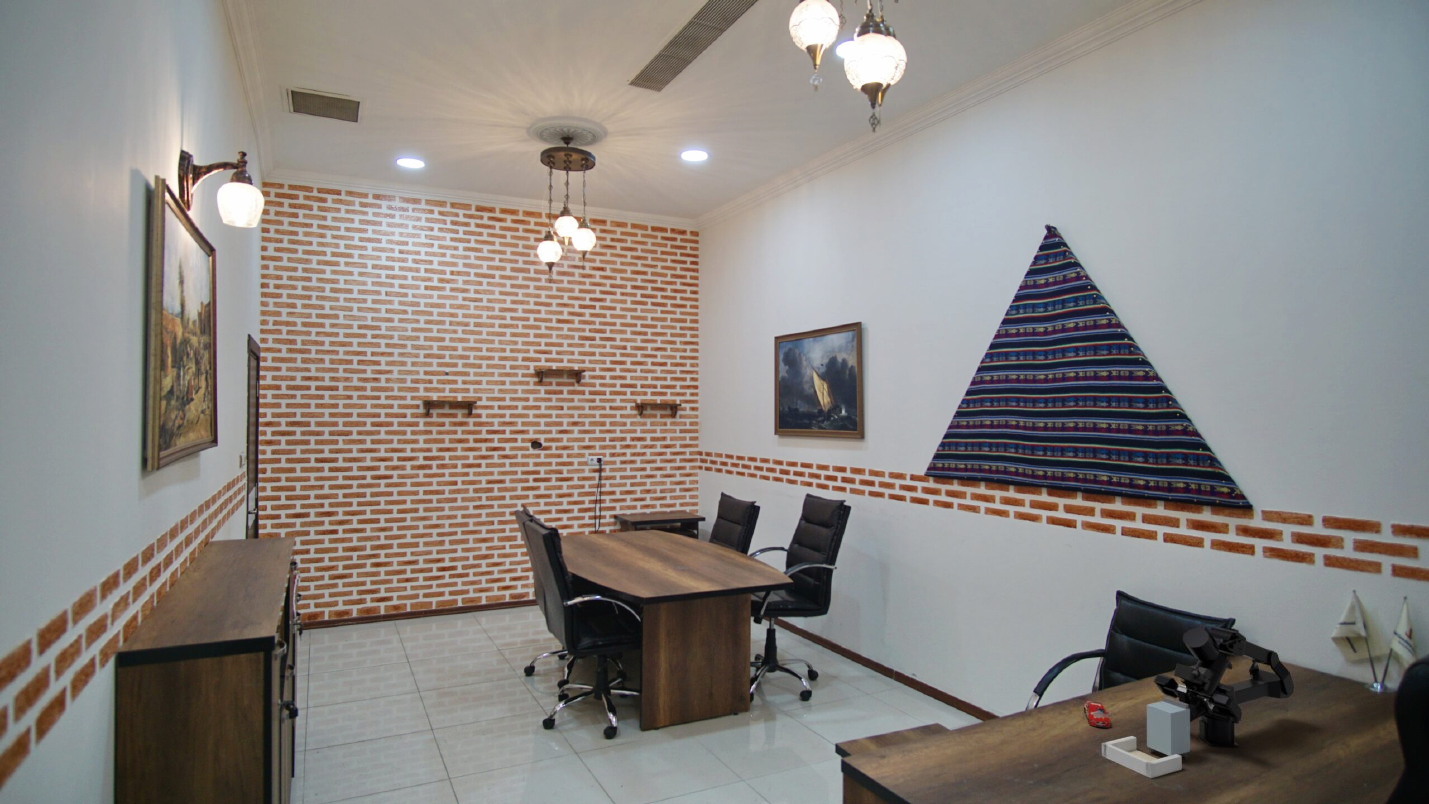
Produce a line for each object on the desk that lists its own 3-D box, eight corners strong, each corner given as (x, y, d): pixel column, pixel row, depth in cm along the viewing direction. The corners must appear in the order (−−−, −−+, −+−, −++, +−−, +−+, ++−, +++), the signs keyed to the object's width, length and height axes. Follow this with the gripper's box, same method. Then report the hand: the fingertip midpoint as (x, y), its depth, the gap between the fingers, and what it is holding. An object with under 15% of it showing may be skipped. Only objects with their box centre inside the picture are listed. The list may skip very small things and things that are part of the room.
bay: (1131, 748, 185) (1131, 735, 185) (1181, 769, 174) (1181, 756, 174) (1101, 756, 181) (1101, 743, 181) (1150, 778, 170) (1150, 764, 170)
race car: (1111, 731, 196) (1111, 716, 196) (1088, 728, 198) (1088, 713, 198) (1104, 713, 209) (1104, 698, 209) (1083, 710, 210) (1082, 695, 211)
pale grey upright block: (1166, 746, 186) (1165, 696, 186) (1190, 756, 180) (1189, 704, 181) (1147, 751, 183) (1146, 700, 183) (1171, 762, 177) (1170, 709, 178)
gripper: (1157, 641, 195) (1129, 691, 190) (1233, 662, 178) (1204, 718, 173) (1177, 668, 198) (1150, 718, 193) (1254, 691, 181) (1226, 746, 176)
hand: (1181, 724), depth 184 cm, fingers closed
